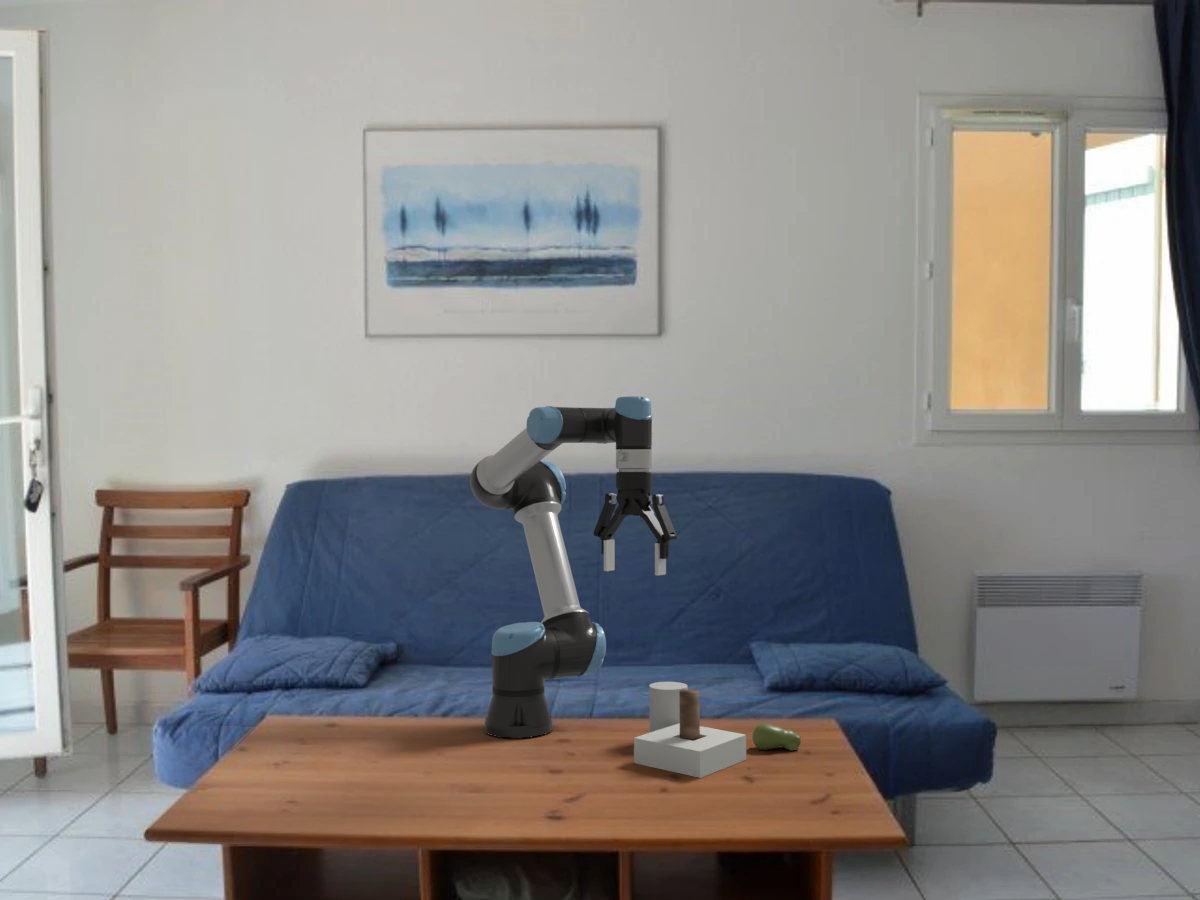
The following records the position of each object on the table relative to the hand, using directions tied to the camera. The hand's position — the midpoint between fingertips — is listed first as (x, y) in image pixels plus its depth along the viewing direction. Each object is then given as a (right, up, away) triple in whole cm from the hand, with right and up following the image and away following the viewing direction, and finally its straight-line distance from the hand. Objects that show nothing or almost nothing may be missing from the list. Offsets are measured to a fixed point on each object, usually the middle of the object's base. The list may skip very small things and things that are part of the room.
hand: (634, 572), depth 227 cm
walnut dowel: (+11, -37, -9) cm, 39 cm away
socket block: (+11, -37, -9) cm, 39 cm away
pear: (+30, -37, 0) cm, 47 cm away
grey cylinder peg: (+7, -37, +6) cm, 38 cm away
